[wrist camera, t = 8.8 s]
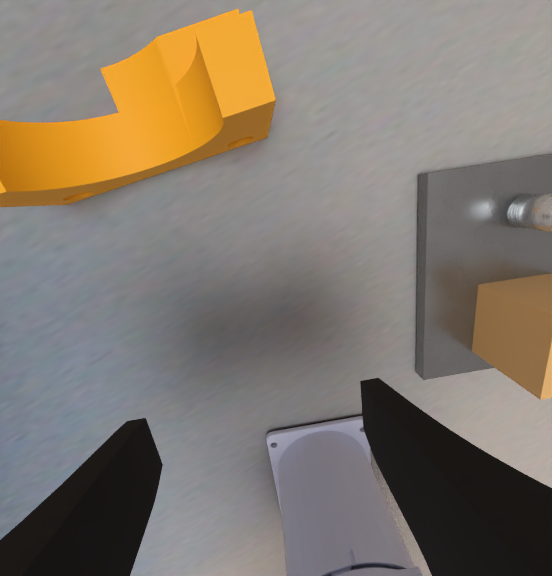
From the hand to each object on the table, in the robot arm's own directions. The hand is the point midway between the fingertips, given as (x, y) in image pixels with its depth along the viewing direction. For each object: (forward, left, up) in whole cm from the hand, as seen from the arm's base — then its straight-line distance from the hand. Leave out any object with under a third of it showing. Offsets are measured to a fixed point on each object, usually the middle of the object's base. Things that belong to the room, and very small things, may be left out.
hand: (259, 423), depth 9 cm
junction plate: (0, -17, -10) cm, 20 cm away
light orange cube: (-3, -17, -9) cm, 19 cm away
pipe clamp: (+11, +4, -10) cm, 16 cm away
